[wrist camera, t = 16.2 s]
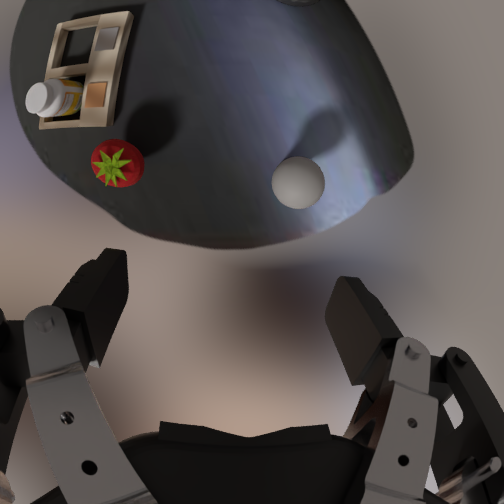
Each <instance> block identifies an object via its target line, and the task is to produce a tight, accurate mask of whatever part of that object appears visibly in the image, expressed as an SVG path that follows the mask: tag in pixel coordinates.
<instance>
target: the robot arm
mask: <svg viewBox="0 0 504 504" xmlns="http://www.w3.org/2000/svg"><path fill="white" fill-rule="evenodd" d="M277 1H279V2H281V3H284V4H287V5H291V6H309V5H312V4H315V3H316V2H318V1H319V0H277ZM128 293H129V284H128V270H127V254H126V251H124V250H119V249H111V248H106V249H104V251H103V252H102V253H101V254H100V256H99V257H98V258H97V259H96V260H93V259H92V260H90V261H88V262H87V263H85V264H84V265H82V266H81V267H80V268H79V269H78V270H77V272H76V273H75V276H73V277H72V278H71V279H70V282H69V283H67V285H66V286H65V287H64V289H63V290H62V291H61V293H60V294H59V295H58V297H57V298H56V300H55V301H54V302H53V304H52V305H47V306H41V307H38V308H36V309H34V310H32V311H31V312H30V313H29V314H28V315H27V316H26V318H25V320H9V321H8V320H6V318H5V316H4V313H3V311H2V310H1V308H0V504H12V503H13V502H14V500H15V496H14V493H13V491H12V490H11V487H10V484H9V482H8V479H7V478H6V476H5V473H6V469H7V464H8V459H9V455H10V451H11V447H12V443H13V439H14V436H15V433H16V429H17V426H18V423H19V420H20V417H21V414H22V411H23V408H24V405H25V402H26V399H27V397H28V396H29V400H30V405H31V409H32V413H33V416H34V420H35V423H36V426H37V430H38V433H39V436H40V439H41V442H42V445H43V448H44V451H45V454H46V456H47V459H48V461H49V464H50V466H51V469H52V471H53V473H54V476H55V478H56V480H57V483H58V485H59V486H57V487H56V488H54V489H53V490H51V491H49V492H48V493H46V494H45V495H43V496H42V497H40V498H39V499H37V500H35V501H34V502H32V503H30V504H504V412H503V410H502V408H501V407H500V405H499V403H498V401H497V399H496V398H495V396H494V394H493V393H492V391H491V389H490V388H489V386H488V384H487V383H486V381H485V379H484V378H483V376H482V375H481V373H480V371H479V370H478V368H477V367H476V365H475V364H474V362H473V361H472V359H471V358H470V356H469V355H468V354H467V353H466V352H465V351H463V350H461V349H459V348H457V347H450V348H448V350H447V351H446V352H445V354H444V355H443V356H442V357H438V356H432V355H430V353H429V351H428V349H427V348H426V347H425V346H424V345H423V344H422V343H421V342H420V341H418V340H416V339H414V338H410V337H404V336H403V335H402V333H401V332H400V330H399V329H398V327H397V326H396V324H395V323H394V321H393V320H392V319H391V317H390V316H389V315H388V313H387V311H386V310H385V309H383V306H382V304H381V303H380V301H379V300H378V298H377V297H375V296H374V295H373V294H372V293H370V292H369V291H368V290H367V288H366V287H365V286H364V284H363V283H362V281H361V280H360V279H359V278H357V277H346V276H340V277H339V278H338V279H337V281H336V284H335V287H334V289H333V292H332V294H331V297H330V300H329V302H328V305H327V307H326V311H325V321H326V324H327V326H328V329H329V331H330V333H331V336H332V338H333V341H334V343H335V345H336V348H337V350H338V353H339V355H340V357H341V360H342V362H343V365H344V367H345V370H346V372H347V375H348V377H349V380H350V382H351V384H352V386H354V385H365V387H366V388H365V390H364V391H363V392H362V394H361V397H360V399H359V402H358V405H357V407H356V410H355V412H354V414H353V417H352V419H351V421H350V424H349V426H348V428H347V430H346V432H345V434H344V435H343V437H342V436H337V435H331V434H330V430H329V427H328V424H324V425H313V426H301V427H290V428H286V429H283V430H279V431H275V432H271V433H268V434H264V435H260V436H255V437H243V436H238V435H234V434H230V433H226V432H222V431H219V430H215V429H212V428H208V427H204V426H197V425H187V424H178V423H170V422H163V421H160V427H159V432H150V433H143V434H139V435H136V436H132V437H130V438H128V439H125V440H123V441H121V442H118V441H117V439H116V437H115V436H114V433H113V432H112V430H111V428H110V426H109V424H108V422H107V420H106V418H105V416H104V414H103V412H102V410H101V408H100V406H99V404H98V402H97V399H96V397H95V395H94V393H93V390H92V388H91V386H90V383H89V381H88V379H87V376H86V374H85V373H86V371H87V368H88V365H90V366H94V367H98V368H100V366H101V363H102V360H103V358H104V355H105V352H106V350H107V347H108V345H109V343H110V340H111V338H112V335H113V333H114V330H115V328H116V326H117V323H118V321H119V318H120V316H121V314H122V312H123V309H124V307H125V305H126V302H127V299H128ZM452 394H454V396H455V398H456V399H457V401H458V403H459V405H460V407H461V409H462V411H463V421H462V423H461V424H460V425H459V426H458V427H457V428H456V429H454V427H453V425H452V422H451V420H450V418H449V416H448V414H447V412H446V410H445V408H444V406H443V404H444V403H445V402H446V401H447V400H448V399H449V398H450V397H451V396H452ZM430 465H431V468H432V471H433V474H434V477H435V480H436V483H437V486H438V489H439V492H437V493H436V494H433V493H432V492H430V491H429V490H427V489H425V484H426V479H427V475H428V471H429V466H430Z"/></svg>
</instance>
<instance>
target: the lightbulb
mask: <svg viewBox="0 0 504 504" xmlns="http://www.w3.org/2000/svg"><path fill="white" fill-rule="evenodd" d="M324 187H325V180H324V175H323V172H322V171H321V169H320V167H319V166H318V165H317V164H316V163H315V162H313V161H312V160H310V159H308V158H305V157H299V156H296V157H291V158H288V159H286V160H284V161H282V162H281V163H280V164H279V165H278V166H277V168H276V169H275V171H274V174H273V177H272V188H273V191H274V194H275V195H276V197H277V198H278V200H279V201H280V202H281V203H283V204H284V205H286V206H288V207H290V208H294V209H303V208H307V207H310V206H312V205H314V204H315V203H316V202H317V201H318V200H319V199H320V198H321V196H322V194H323V191H324Z"/></svg>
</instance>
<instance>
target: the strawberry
mask: <svg viewBox="0 0 504 504" xmlns="http://www.w3.org/2000/svg"><path fill="white" fill-rule="evenodd" d="M91 164H92V168H93V171H94V172H95V174H96V178H97V177H98V178H99V179H100V180H101V181H103V182H104V183H106V186H107V184H108V185H110V186H114V187H126V186H130V185H133V184H135V183H136V182H138V181H139V180H140V178H141V177H142V175H143V172H144V159H143V156H142V154H141V153H140V151H139V150H138V149H137V148H136V147H135V146H133V145H132V144H130V143H128V142H126V141H123V140H119V139H110V140H106V141H104V142H102V143H101V144H100V145H98V146H97V147H96V148H95V150H94V151H93V153H92V157H91Z"/></svg>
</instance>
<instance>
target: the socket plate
mask: <svg viewBox="0 0 504 504" xmlns="http://www.w3.org/2000/svg"><path fill="white" fill-rule="evenodd" d="M133 19H134V15H133V14H132V13H131V12H130V11H124V12H116V13H108V14H102V15H96V16H90V17H85V18H81V19H76V20H72V21H67V22H63V23H60V24H58V25H57V28H56V32H55V35H54V39H53V43H52V47H51V51H50V55H49V60H48V65H47V70H46V75H45V81H46V80H48V79H63V78H70V77H77V76H86V78H85V84H84V91H83V97H82V105H81V114H80V120H65V121H53V117H41V116H40V122H39V129H51V128H66V127H94V126H113V121H114V113H115V105H116V98H117V91H118V85H119V80H120V74H121V69H122V64H123V59H124V54H125V50H126V46H127V42H128V38H129V34H130V30H131V26H132V23H133ZM93 26H97V29H96V33H95V37H94V41H93V45H92V49H91V53H90V58H89V62H88V63H85V64H78V65H71V66H65V67H60V66H61V61H62V56H63V52H64V48H65V43H66V40H67V36H68V32H69V31H72V30H77V29H82V28H88V27H93Z"/></svg>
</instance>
